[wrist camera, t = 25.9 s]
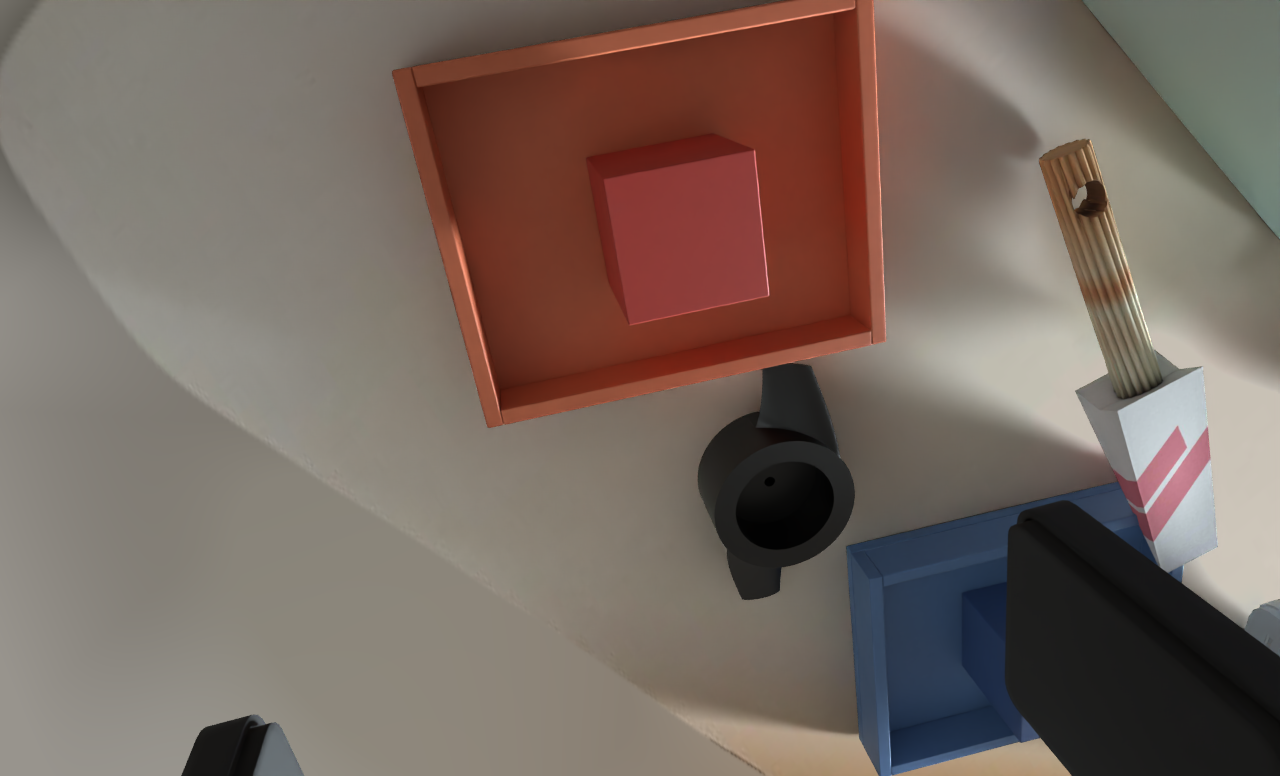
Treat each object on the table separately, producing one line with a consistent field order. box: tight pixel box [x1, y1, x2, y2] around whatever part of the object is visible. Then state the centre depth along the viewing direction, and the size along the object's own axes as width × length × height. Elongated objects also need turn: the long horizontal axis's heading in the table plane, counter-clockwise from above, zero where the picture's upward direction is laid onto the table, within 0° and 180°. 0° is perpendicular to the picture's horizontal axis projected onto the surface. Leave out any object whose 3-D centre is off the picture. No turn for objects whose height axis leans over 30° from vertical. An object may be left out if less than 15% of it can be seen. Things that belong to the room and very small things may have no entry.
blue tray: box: [846, 482, 1184, 776], centre depth 39 cm, size 15×12×3 cm
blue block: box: [962, 582, 1040, 743], centre depth 37 cm, size 5×5×5 cm
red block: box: [586, 133, 769, 325], centre depth 27 cm, size 5×5×5 cm
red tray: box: [392, 0, 886, 428], centre depth 28 cm, size 15×12×3 cm
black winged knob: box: [698, 363, 855, 600], centre depth 33 cm, size 8×10×3 cm
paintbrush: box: [1039, 139, 1218, 573], centre depth 33 cm, size 4×3×20 cm
